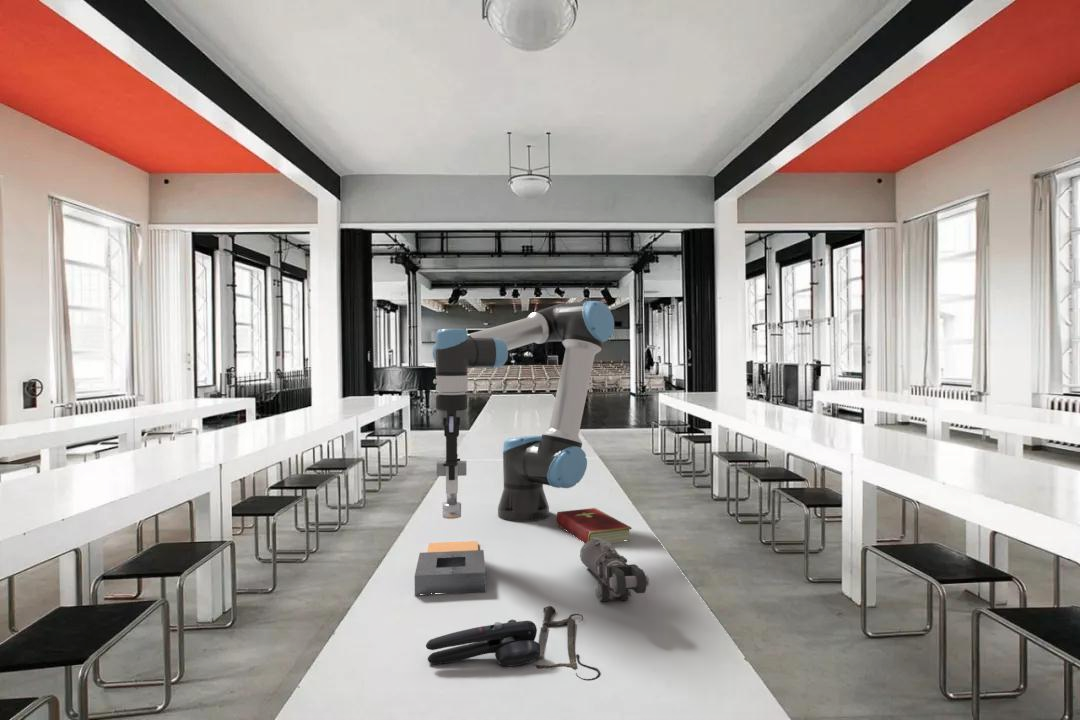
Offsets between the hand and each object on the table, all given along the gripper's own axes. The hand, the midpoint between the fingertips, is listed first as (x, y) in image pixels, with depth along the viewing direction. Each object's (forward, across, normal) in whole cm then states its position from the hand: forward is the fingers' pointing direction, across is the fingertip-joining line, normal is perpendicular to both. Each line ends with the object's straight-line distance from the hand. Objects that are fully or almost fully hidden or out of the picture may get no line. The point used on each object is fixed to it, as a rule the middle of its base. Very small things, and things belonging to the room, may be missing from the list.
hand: (451, 491), depth 147 cm
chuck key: (+6, 0, 0) cm, 6 cm away
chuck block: (+15, +18, 0) cm, 23 cm away
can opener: (+15, +52, +6) cm, 54 cm away
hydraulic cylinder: (+15, +27, +32) cm, 44 cm away
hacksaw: (+16, +48, +20) cm, 54 cm away
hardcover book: (+15, -12, +37) cm, 42 cm away
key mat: (+15, 0, 0) cm, 15 cm away
